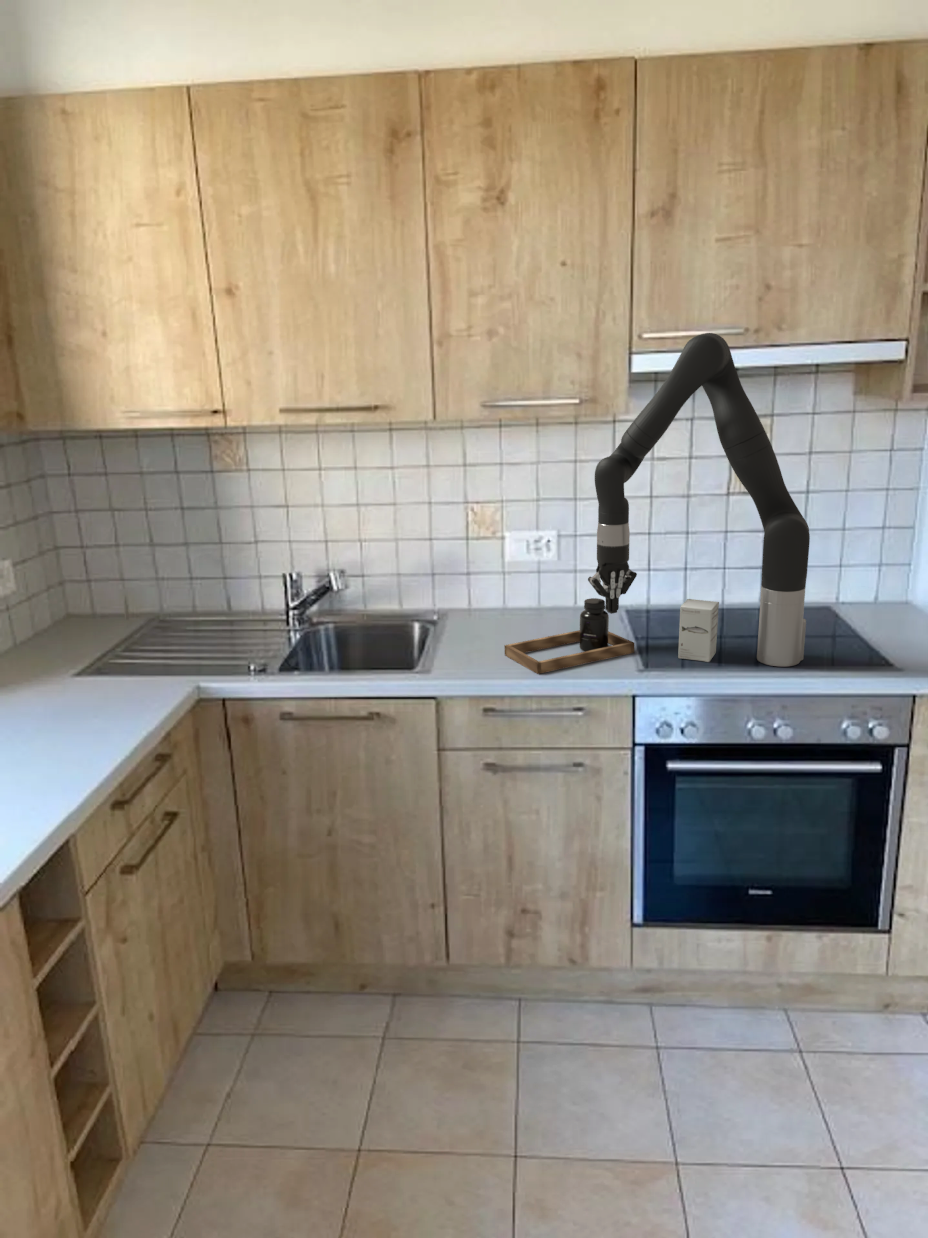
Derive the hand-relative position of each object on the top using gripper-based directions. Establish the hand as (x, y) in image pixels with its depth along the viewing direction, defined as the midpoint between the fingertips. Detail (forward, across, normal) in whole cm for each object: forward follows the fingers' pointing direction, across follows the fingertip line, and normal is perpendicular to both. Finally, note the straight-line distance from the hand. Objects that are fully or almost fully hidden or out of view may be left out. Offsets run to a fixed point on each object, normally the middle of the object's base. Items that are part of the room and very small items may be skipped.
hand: (612, 612), depth 215 cm
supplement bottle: (+8, -5, 0) cm, 10 cm away
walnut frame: (+8, -12, 0) cm, 15 cm away
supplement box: (+8, +12, -17) cm, 22 cm away
